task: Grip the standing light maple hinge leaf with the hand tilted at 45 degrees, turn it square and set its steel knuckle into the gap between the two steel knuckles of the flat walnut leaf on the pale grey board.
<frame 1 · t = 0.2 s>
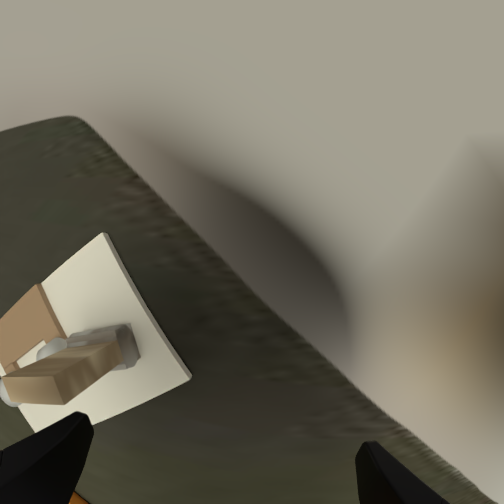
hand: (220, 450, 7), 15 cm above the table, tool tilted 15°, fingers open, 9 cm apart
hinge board: (47, 369, 22), on the table
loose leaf: (110, 344, 21), point 1 cm above the table, touching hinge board
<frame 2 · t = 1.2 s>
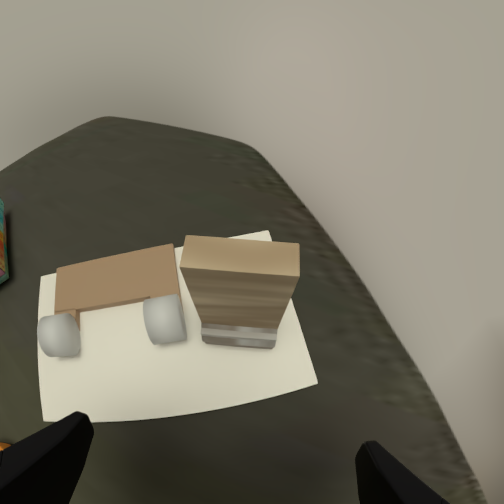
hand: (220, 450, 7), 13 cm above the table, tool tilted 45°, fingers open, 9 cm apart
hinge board: (120, 338, 22), on the table
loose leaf: (240, 328, 22), point 1 cm above the table, touching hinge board
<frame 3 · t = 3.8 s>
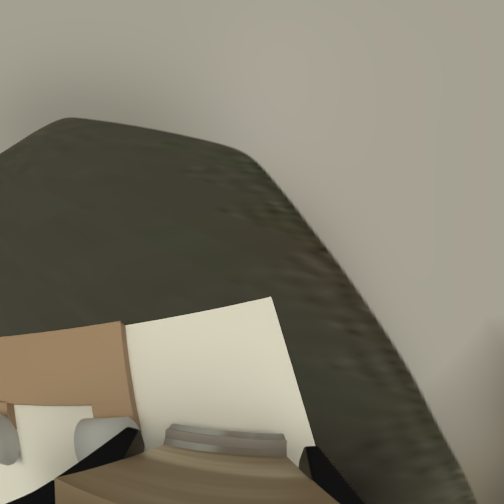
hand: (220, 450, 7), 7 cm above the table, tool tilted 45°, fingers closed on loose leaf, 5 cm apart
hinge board: (65, 444, 12), on the table
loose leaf: (226, 458, 12), point 1 cm above the table, touching gripper, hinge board
when the fingers open (8 cm above the table, at t = 8.3 s): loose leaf stays where it is, resting on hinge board.
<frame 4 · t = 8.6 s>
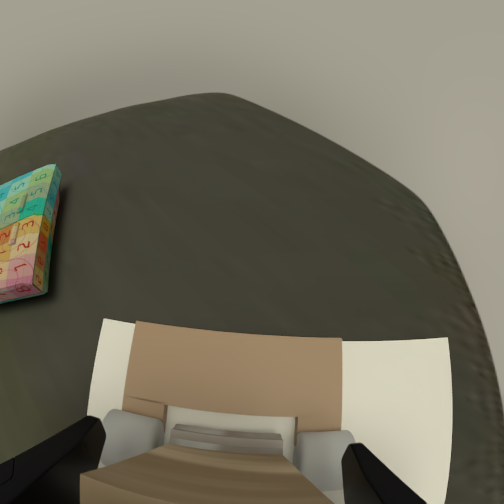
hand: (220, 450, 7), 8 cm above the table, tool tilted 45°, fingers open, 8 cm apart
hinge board: (228, 452, 13), on the table
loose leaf: (226, 456, 13), point 1 cm above the table, touching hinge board
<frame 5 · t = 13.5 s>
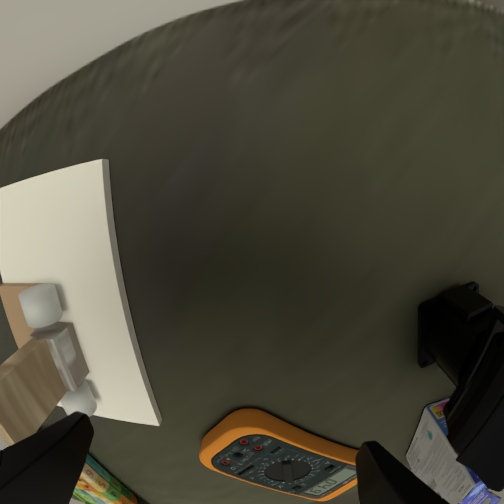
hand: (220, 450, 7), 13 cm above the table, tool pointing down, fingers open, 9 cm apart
puzzle game: (89, 469, 28), on the table
multimeter: (290, 449, 25), on the table
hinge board: (73, 341, 21), on the table
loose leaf: (68, 346, 21), point 1 cm above the table, touching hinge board
ink cartridge box: (432, 425, 24), on the table
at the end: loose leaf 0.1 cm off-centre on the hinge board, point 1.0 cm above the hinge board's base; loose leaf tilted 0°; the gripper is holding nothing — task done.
